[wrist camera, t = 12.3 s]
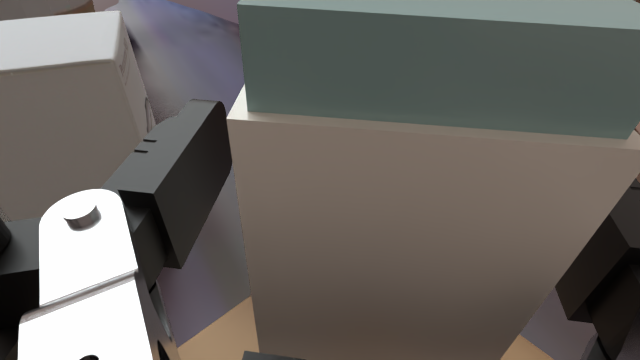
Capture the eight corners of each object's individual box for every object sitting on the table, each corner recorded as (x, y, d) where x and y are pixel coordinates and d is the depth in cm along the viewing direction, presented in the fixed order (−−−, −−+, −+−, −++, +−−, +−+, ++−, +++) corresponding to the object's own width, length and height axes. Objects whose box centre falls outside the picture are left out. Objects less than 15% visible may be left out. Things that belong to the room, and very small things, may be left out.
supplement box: (182, 251, 24) (115, 58, 16) (50, 283, 22) (-105, 82, 14) (176, 179, 29) (123, 6, 21) (69, 199, 27) (-35, 18, 19)
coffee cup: (161, 109, 37) (108, -74, 27) (38, 165, 30) (-92, -52, 21) (100, 76, 42) (37, -87, 33) (-17, 117, 36) (-140, -74, 26)
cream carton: (431, 452, 11) (736, 41, 3) (271, 434, 11) (210, 7, 4) (413, 307, 15) (541, -51, 7) (292, 296, 15) (286, -65, 7)
